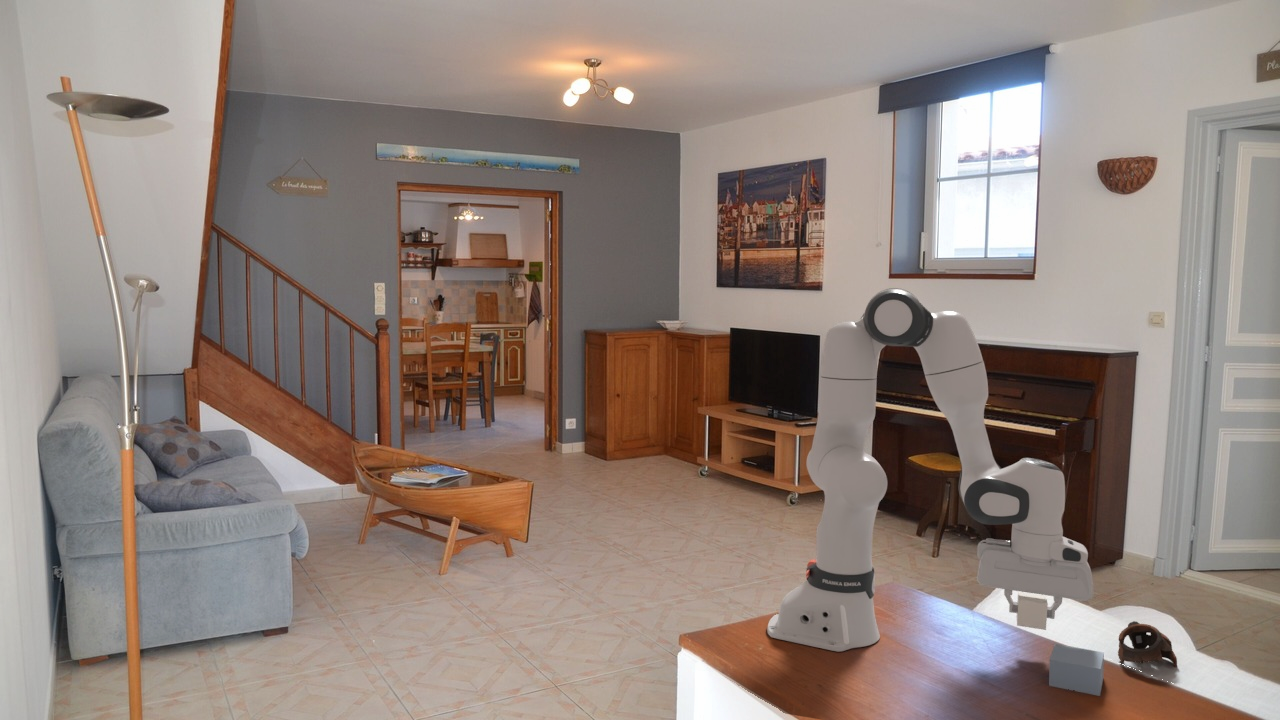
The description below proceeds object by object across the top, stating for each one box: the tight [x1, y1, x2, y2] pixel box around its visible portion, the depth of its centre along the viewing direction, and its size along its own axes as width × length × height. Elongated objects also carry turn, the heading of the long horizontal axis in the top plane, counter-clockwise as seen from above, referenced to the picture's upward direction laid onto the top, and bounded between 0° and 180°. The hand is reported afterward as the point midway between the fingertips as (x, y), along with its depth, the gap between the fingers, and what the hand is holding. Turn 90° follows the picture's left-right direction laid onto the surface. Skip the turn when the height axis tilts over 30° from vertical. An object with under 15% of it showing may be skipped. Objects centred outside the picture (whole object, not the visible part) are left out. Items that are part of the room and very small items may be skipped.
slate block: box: [1048, 643, 1105, 697], centre depth 155 cm, size 8×8×5 cm
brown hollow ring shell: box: [1117, 620, 1178, 668], centre depth 164 cm, size 12×10×8 cm
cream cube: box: [1016, 591, 1049, 631], centre depth 167 cm, size 5×5×5 cm
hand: (1031, 614), depth 167 cm, fingers closed on cream cube, 5 cm apart
